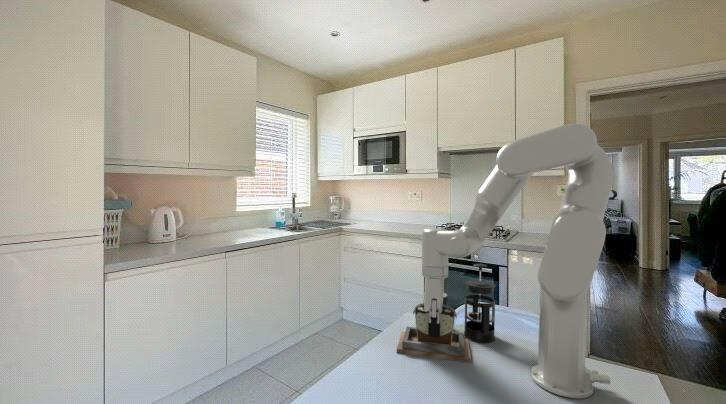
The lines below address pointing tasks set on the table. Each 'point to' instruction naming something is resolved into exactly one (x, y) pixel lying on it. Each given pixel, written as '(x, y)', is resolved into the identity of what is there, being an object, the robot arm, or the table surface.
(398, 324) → the table surface
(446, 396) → the table surface
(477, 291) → the french press
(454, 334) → the wooden tray
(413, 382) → the table surface
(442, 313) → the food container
